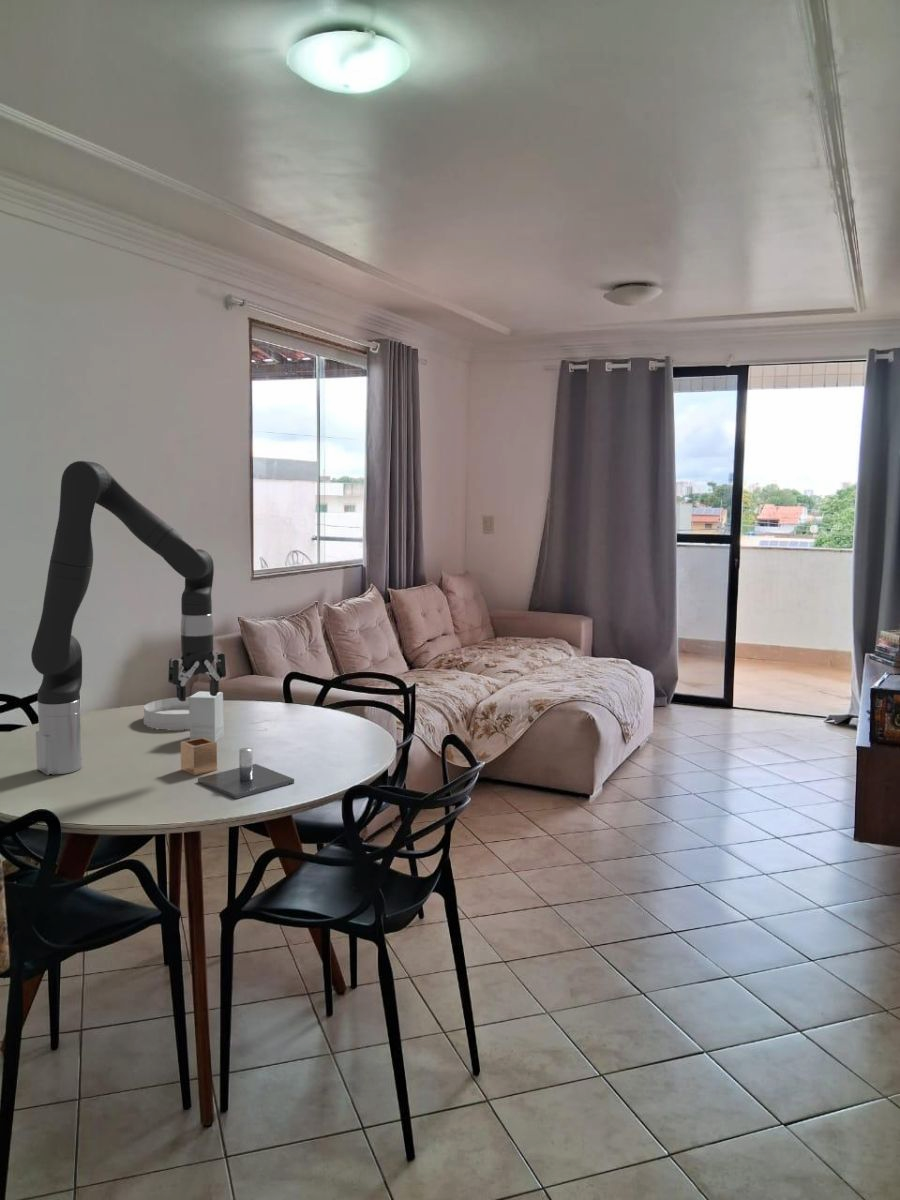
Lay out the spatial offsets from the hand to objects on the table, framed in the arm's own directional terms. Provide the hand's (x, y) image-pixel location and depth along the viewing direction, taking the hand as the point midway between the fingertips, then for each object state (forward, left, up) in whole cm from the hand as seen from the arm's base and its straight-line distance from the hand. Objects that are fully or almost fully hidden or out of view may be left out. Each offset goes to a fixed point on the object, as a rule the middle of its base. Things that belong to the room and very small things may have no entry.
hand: (198, 698), depth 211 cm
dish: (+21, +45, -18) cm, 53 cm away
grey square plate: (+3, -16, -18) cm, 24 cm away
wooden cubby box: (0, 0, -18) cm, 18 cm away
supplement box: (+16, +23, -18) cm, 33 cm away
